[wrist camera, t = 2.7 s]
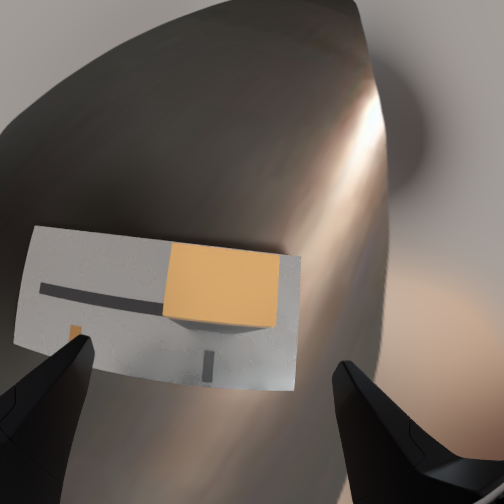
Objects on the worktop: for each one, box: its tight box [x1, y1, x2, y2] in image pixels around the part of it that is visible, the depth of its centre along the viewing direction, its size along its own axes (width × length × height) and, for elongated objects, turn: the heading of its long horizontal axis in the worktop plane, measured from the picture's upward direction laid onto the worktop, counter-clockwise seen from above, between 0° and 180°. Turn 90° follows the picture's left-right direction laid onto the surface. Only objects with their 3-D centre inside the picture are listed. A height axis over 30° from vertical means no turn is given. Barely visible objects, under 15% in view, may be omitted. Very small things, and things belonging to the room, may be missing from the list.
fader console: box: [14, 226, 301, 391], centre depth 18 cm, size 20×9×2 cm, turn 85°
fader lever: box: [162, 242, 280, 334], centre depth 12 cm, size 3×2×10 cm, turn 85°
